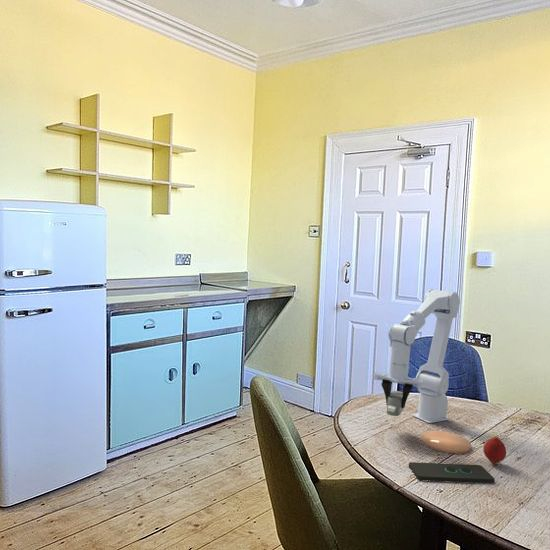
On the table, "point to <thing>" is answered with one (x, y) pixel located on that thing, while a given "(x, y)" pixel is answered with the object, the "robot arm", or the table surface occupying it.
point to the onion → (494, 450)
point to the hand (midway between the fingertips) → (395, 405)
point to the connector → (395, 403)
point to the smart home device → (451, 472)
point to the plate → (446, 442)
